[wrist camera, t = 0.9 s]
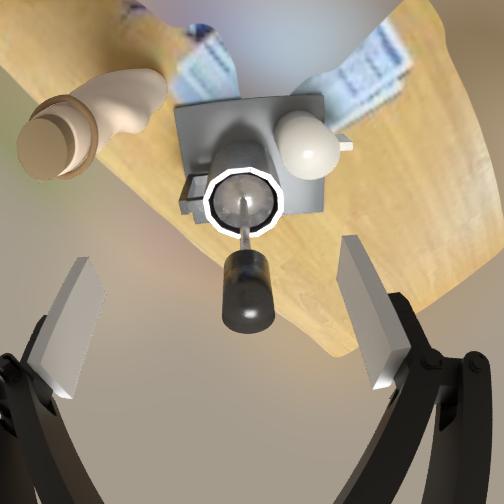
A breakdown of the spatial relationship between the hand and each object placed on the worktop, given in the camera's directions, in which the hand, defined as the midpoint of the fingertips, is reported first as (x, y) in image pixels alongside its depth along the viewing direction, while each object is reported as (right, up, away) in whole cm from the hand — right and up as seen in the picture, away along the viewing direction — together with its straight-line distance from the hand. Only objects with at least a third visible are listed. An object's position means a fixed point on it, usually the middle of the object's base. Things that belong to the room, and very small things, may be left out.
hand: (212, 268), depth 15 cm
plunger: (+1, +7, +24) cm, 25 cm away
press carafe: (-1, +13, +33) cm, 35 cm away
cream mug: (+10, +19, +30) cm, 36 cm away
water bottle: (-15, +24, +26) cm, 38 cm away
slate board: (+2, +15, +33) cm, 36 cm away
